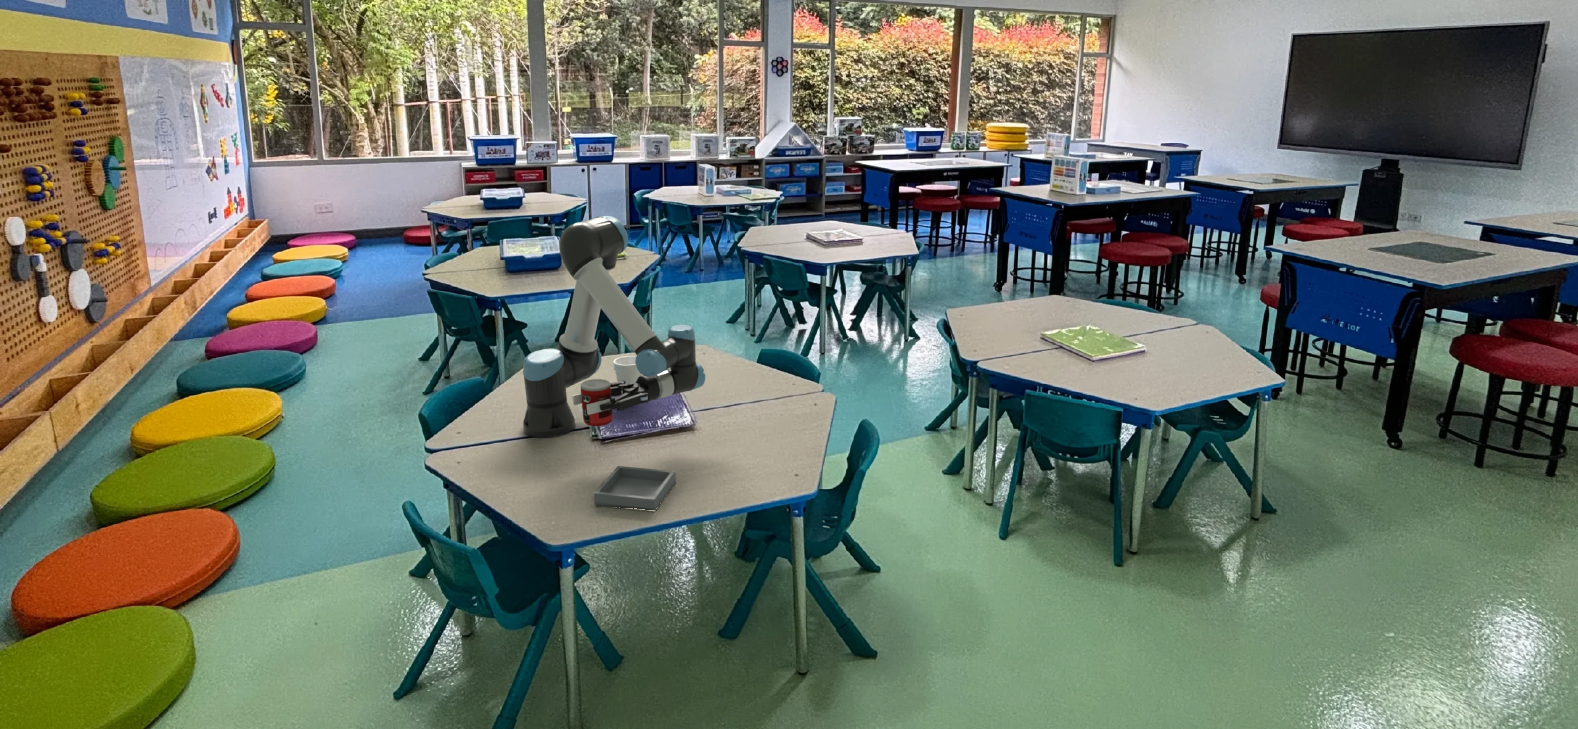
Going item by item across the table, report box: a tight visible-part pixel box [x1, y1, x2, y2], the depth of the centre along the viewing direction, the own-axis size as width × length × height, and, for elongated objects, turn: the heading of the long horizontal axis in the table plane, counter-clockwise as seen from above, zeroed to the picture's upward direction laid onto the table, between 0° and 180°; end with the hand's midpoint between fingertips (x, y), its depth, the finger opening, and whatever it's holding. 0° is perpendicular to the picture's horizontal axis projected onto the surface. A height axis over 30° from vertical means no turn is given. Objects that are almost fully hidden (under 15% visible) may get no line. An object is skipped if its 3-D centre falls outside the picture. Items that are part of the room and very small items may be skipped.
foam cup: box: [613, 355, 642, 394], centre depth 298 cm, size 10×9×13 cm
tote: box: [593, 465, 677, 511], centre depth 236 cm, size 16×16×4 cm
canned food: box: [580, 378, 614, 427], centre depth 250 cm, size 8×8×11 cm
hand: (580, 404), depth 247 cm, fingers closed on canned food, 8 cm apart
